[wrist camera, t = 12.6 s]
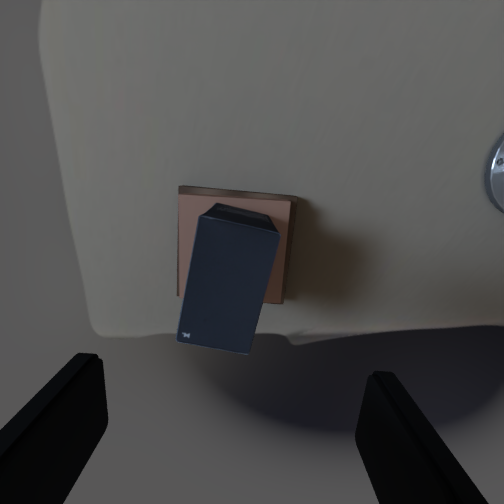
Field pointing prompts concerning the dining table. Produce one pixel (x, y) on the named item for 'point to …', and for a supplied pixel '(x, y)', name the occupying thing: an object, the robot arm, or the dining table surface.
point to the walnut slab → (248, 194)
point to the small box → (227, 278)
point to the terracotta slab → (275, 208)
